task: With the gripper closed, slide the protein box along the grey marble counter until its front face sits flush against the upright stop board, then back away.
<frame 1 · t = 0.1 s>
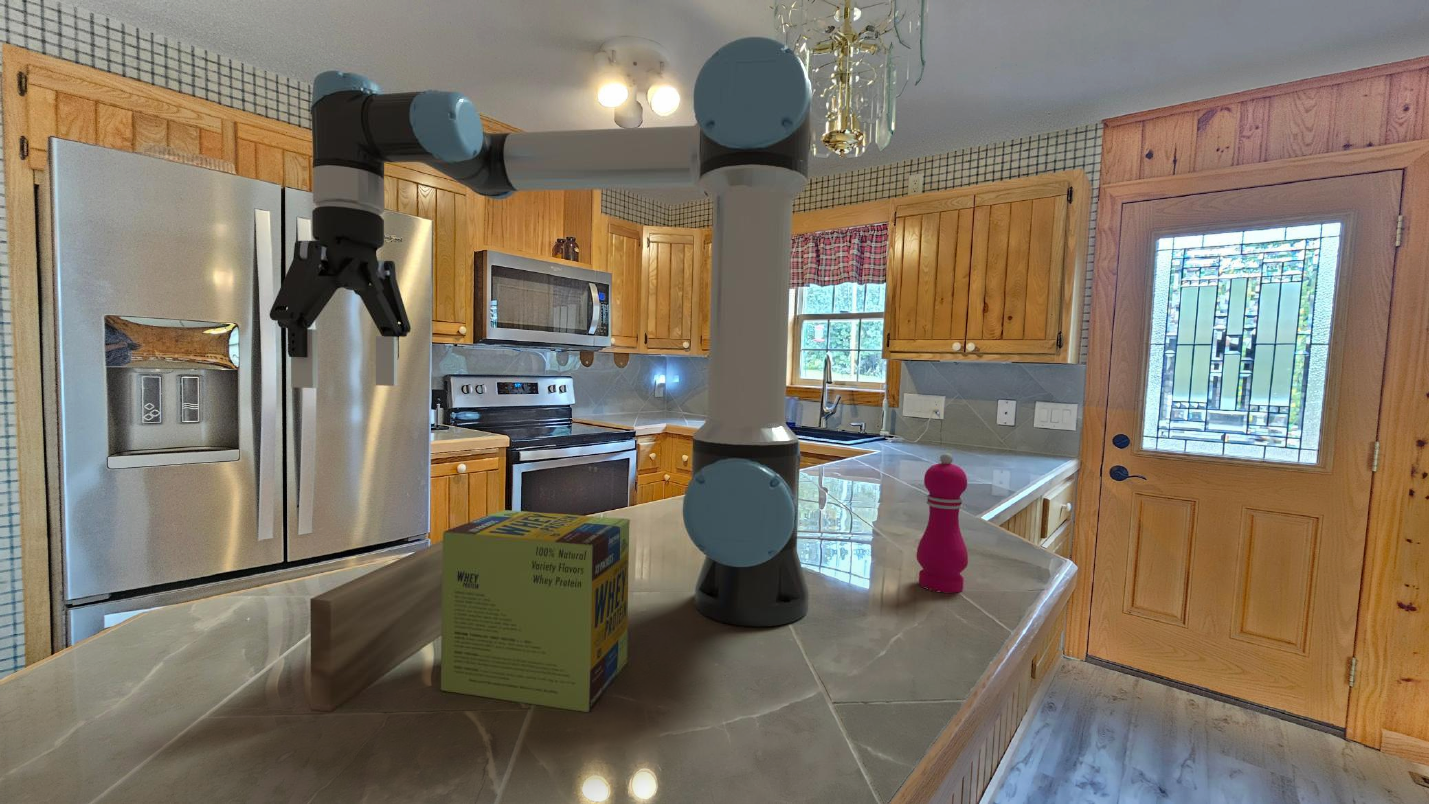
hand: (349, 386, 77), 28 cm above the counter, fingers open, 13 cm apart
stop board: (395, 659, 65), on the counter
protein box: (539, 678, 63), on the counter
pepper mill: (940, 587, 93), on the counter
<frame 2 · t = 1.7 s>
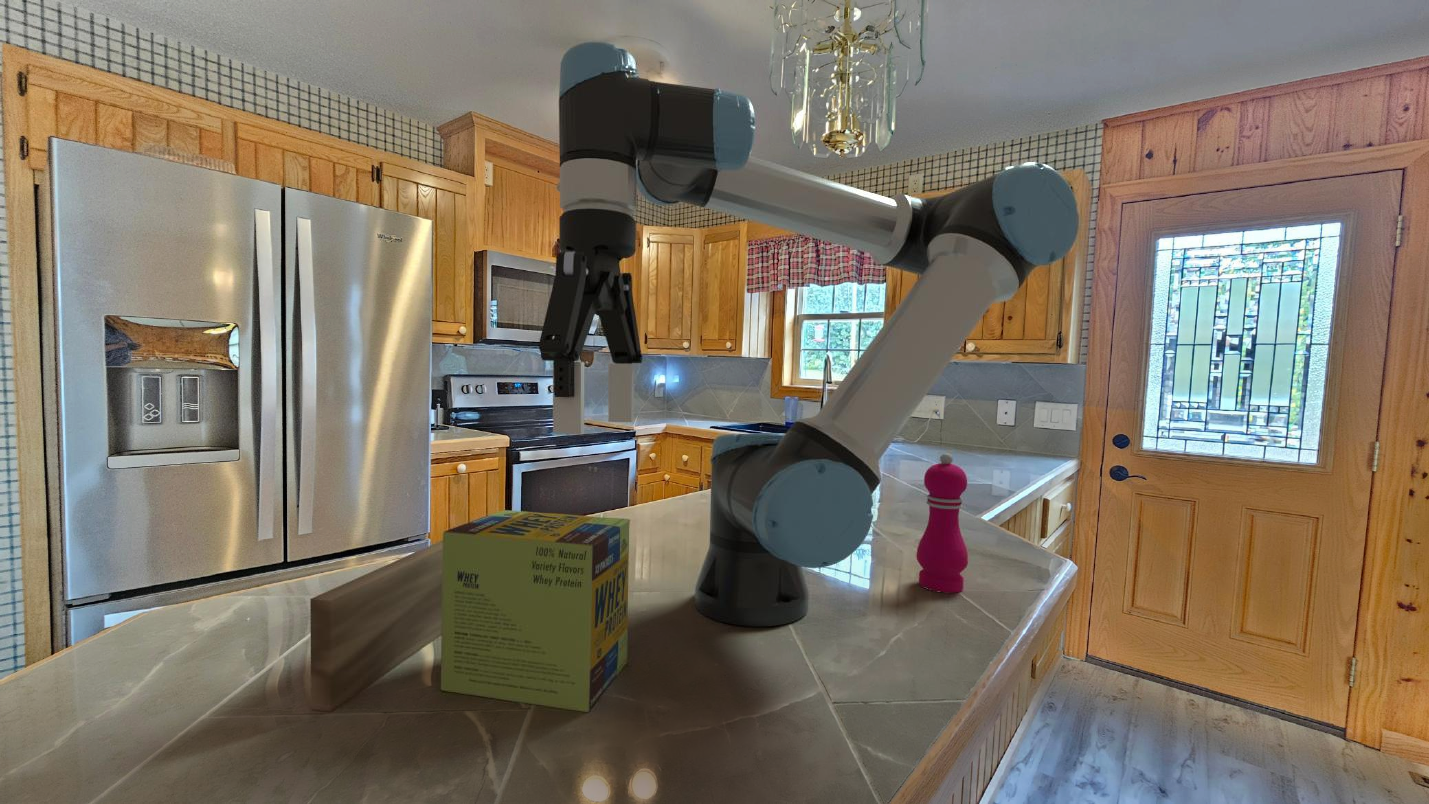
hand: (597, 427, 63), 25 cm above the counter, fingers open, 13 cm apart
nothing on the counter moved.
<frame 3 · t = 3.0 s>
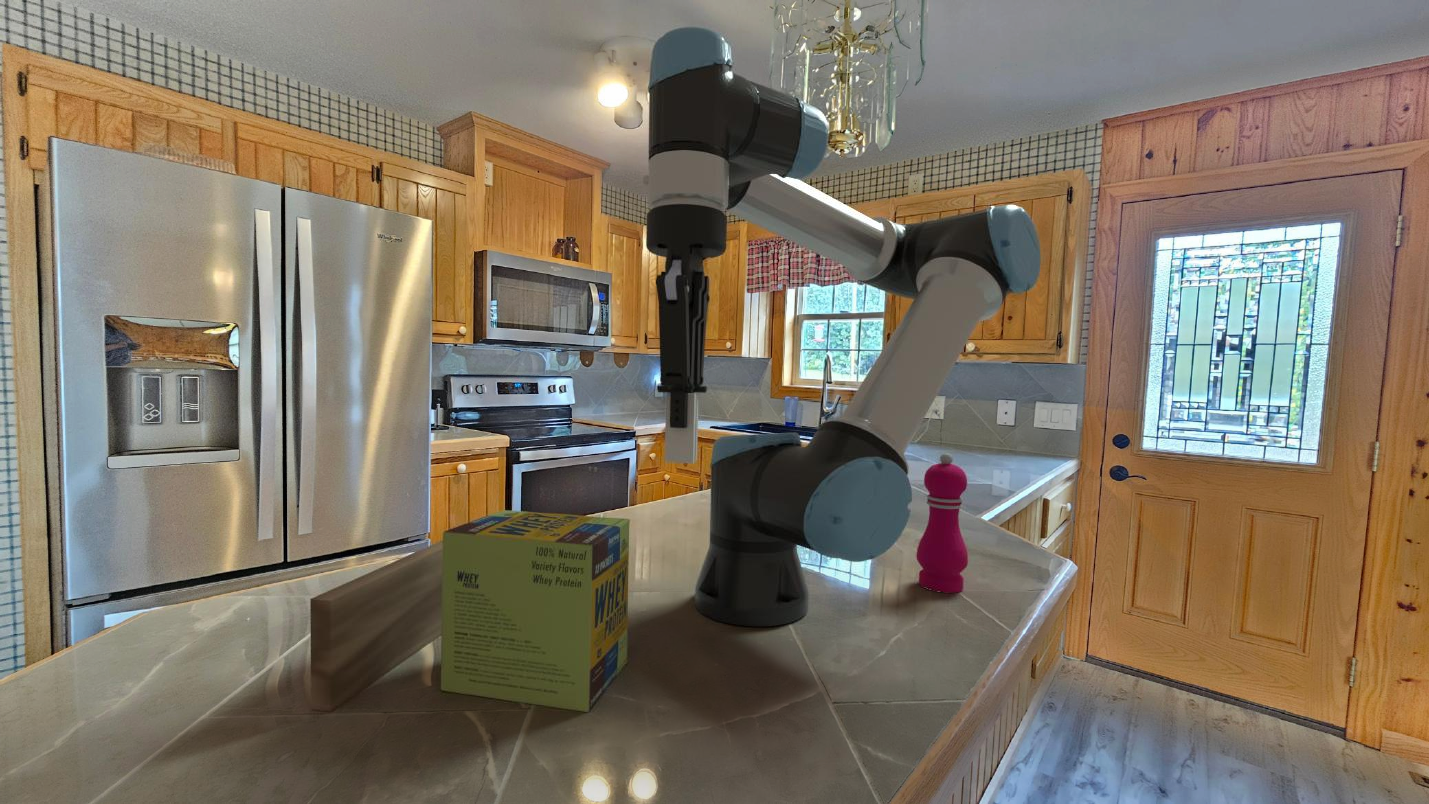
hand: (681, 460, 60), 22 cm above the counter, fingers closed
nothing on the counter moved.
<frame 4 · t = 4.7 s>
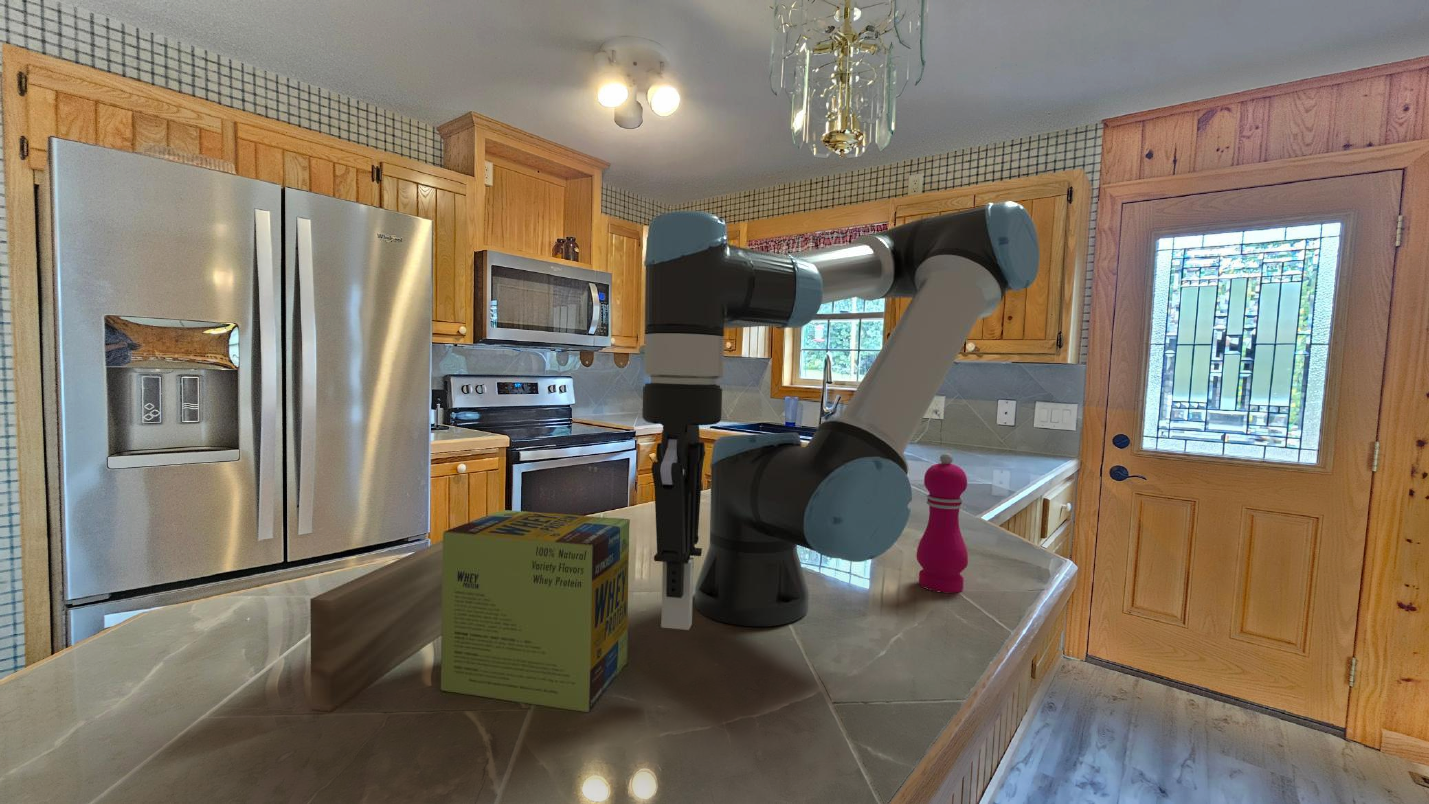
hand: (676, 625, 60), 6 cm above the counter, fingers closed
nothing on the counter moved.
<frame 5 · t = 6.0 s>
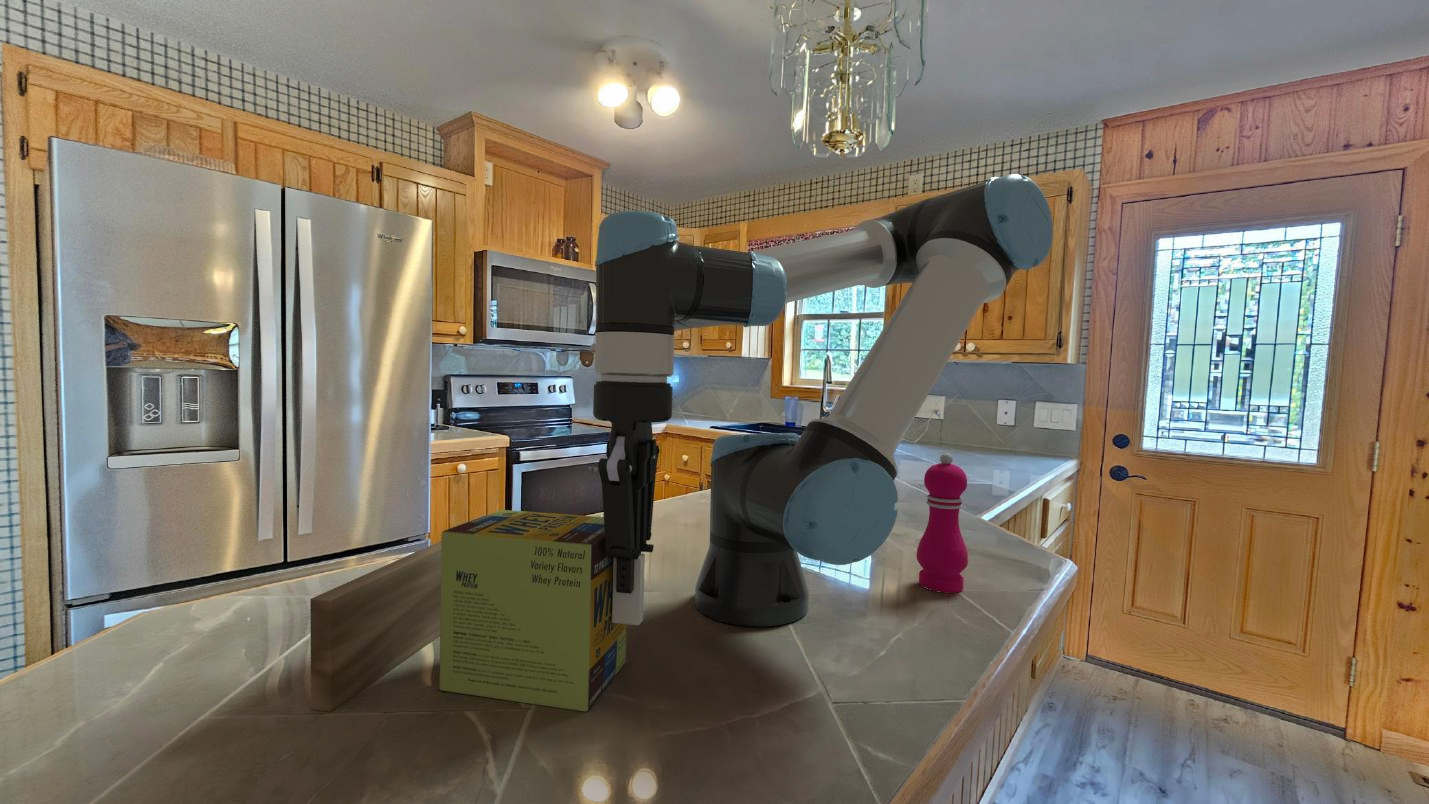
hand: (627, 620, 61), 6 cm above the counter, fingers closed
protein box: (538, 677, 63), on the counter, touching gripper
everything else where it was.
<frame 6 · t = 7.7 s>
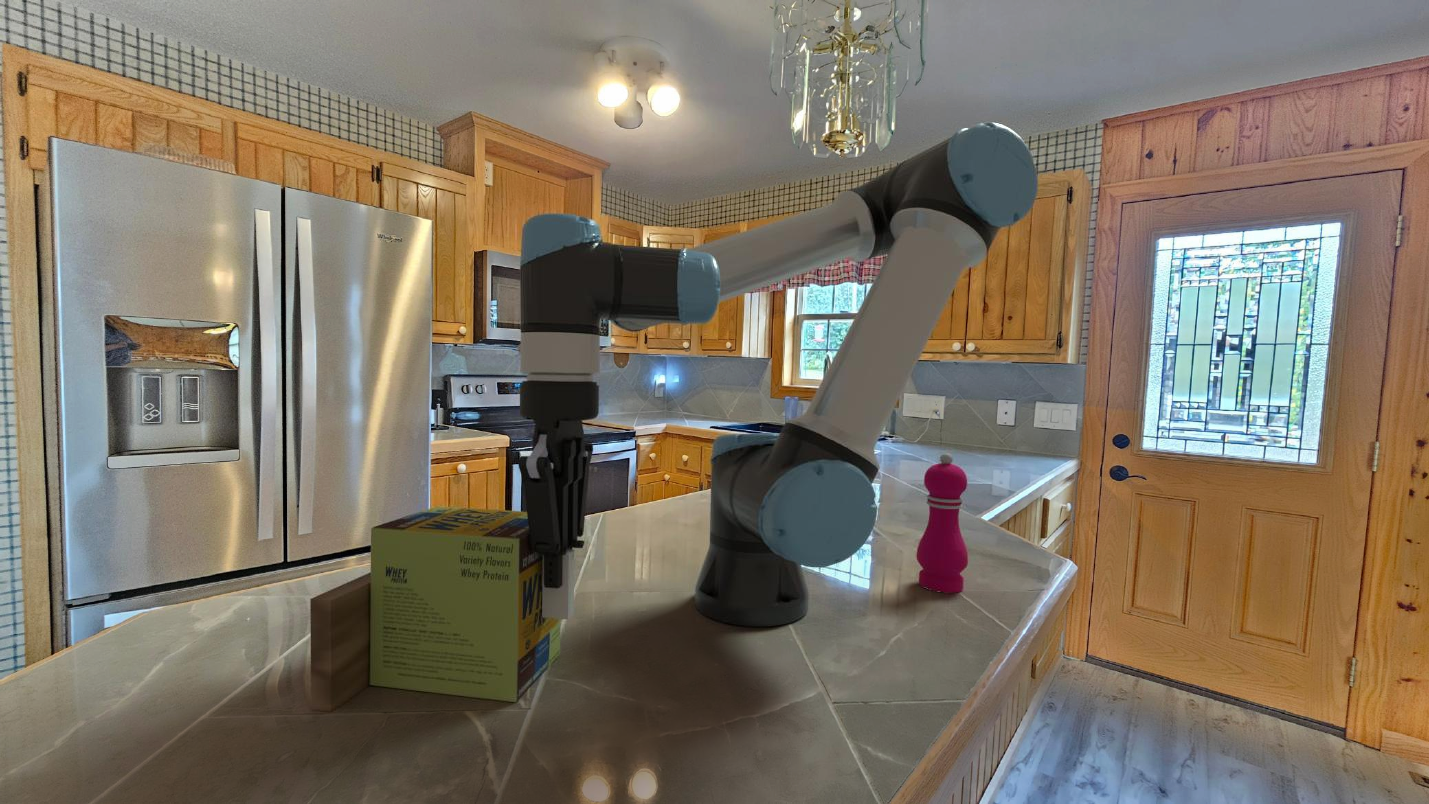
hand: (558, 615, 62), 6 cm above the counter, fingers closed
protein box: (471, 671, 64), on the counter, touching gripper, stop board
everything else where it was.
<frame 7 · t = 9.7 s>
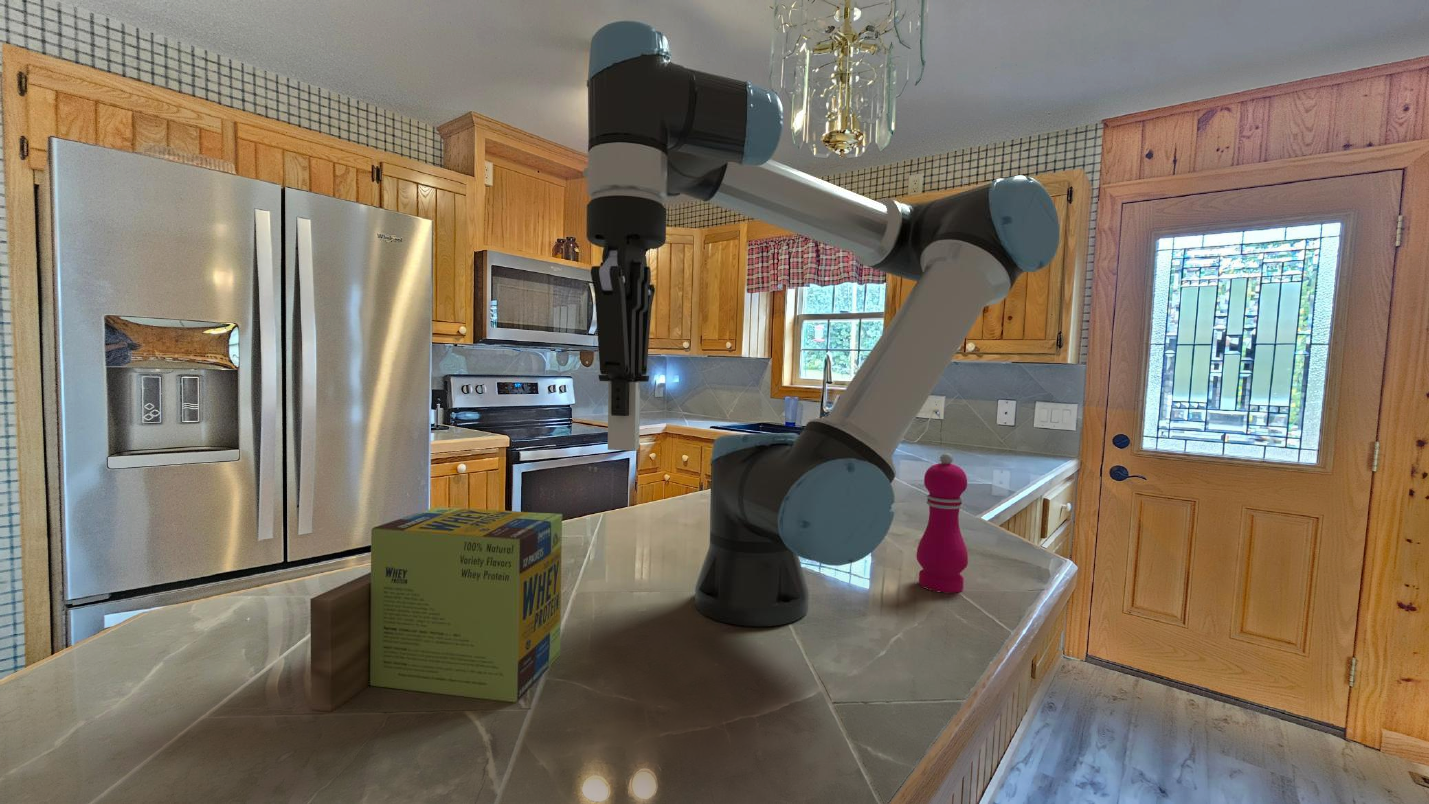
hand: (623, 448, 61), 23 cm above the counter, fingers closed
protein box: (471, 671, 64), on the counter
everything else where it was.
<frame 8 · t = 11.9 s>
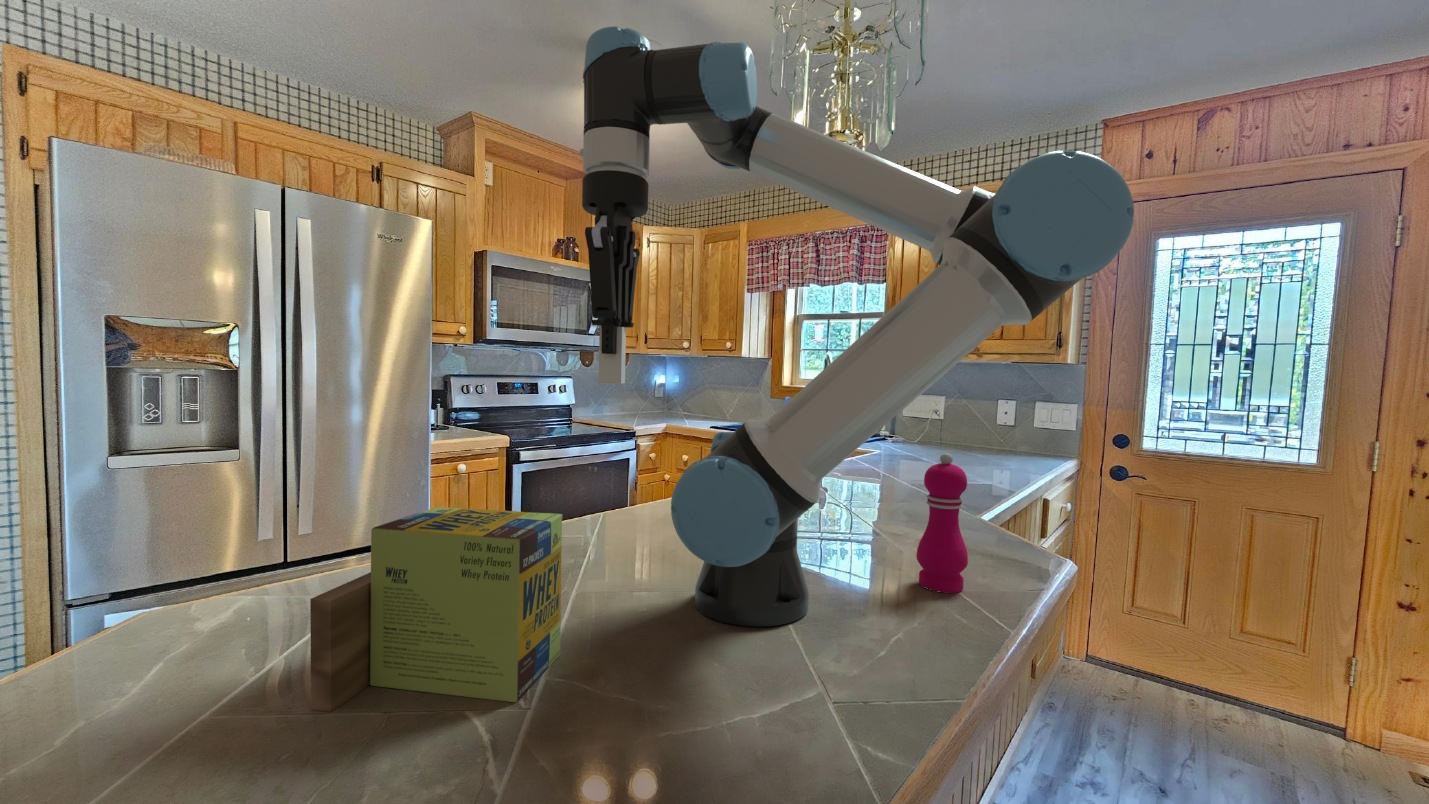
hand: (611, 382, 73), 29 cm above the counter, fingers closed
nothing on the counter moved.
at the end: protein box 0.4 cm from the target spot on the counter beside the stop board, on the counter; protein box tilted 0° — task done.
